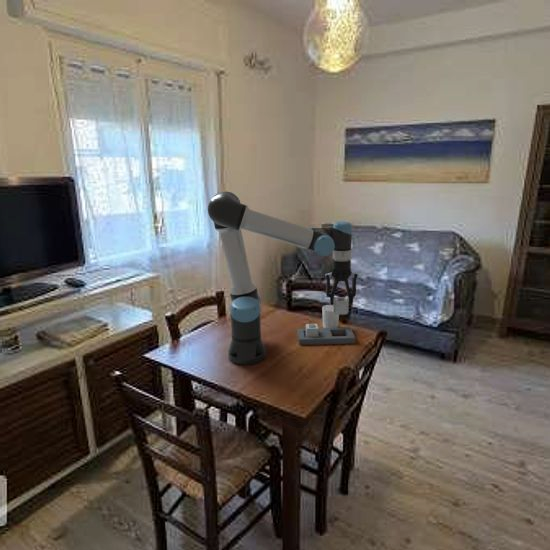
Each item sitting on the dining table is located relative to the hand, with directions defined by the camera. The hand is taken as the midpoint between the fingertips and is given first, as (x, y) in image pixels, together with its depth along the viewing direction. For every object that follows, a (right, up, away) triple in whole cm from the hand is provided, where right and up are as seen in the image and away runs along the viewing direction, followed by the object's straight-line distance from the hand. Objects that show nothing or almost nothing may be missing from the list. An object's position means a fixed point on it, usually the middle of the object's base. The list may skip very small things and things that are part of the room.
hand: (340, 311), depth 173 cm
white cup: (-2, -9, +14) cm, 17 cm away
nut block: (0, 0, 0) cm, 0 cm away
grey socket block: (-6, -12, +4) cm, 14 cm away
